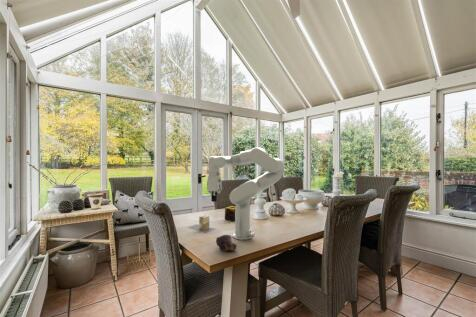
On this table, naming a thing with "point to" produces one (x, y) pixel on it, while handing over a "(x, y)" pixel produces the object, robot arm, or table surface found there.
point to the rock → (225, 243)
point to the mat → (196, 227)
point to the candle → (230, 213)
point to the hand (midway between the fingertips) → (213, 201)
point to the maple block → (203, 222)
